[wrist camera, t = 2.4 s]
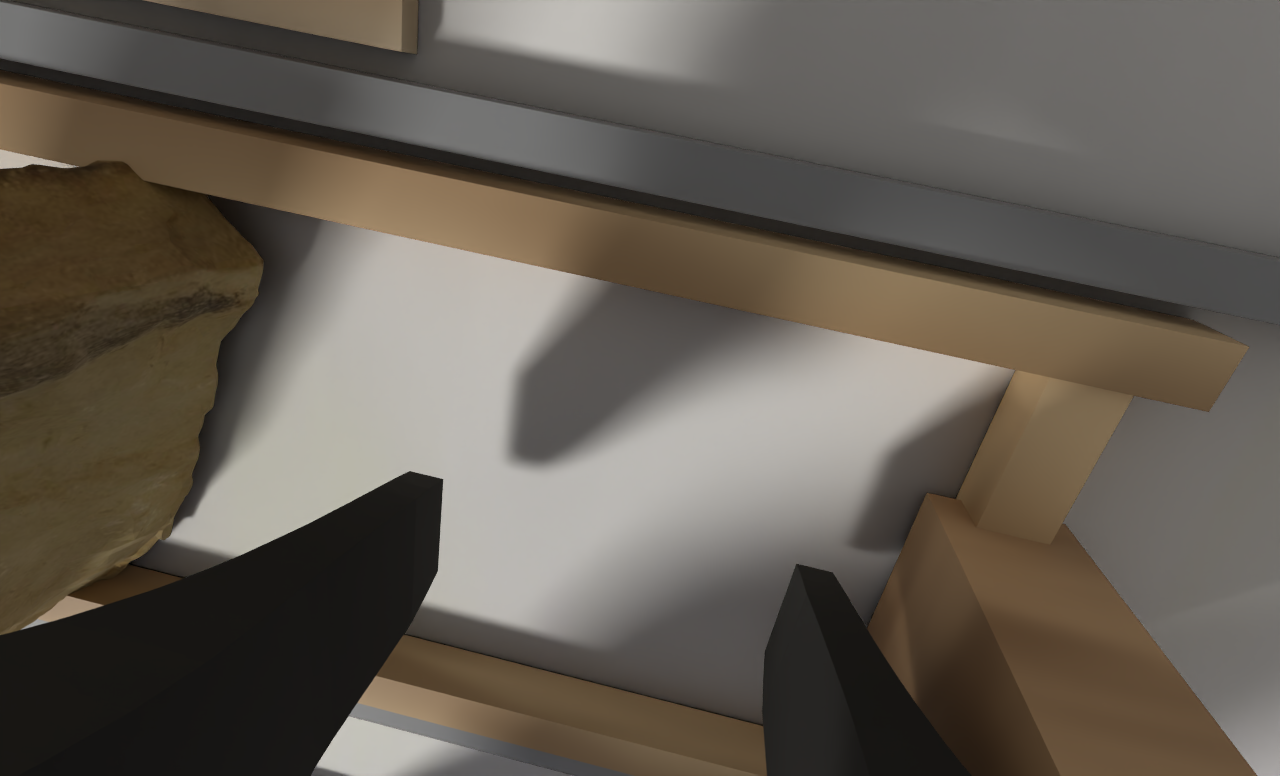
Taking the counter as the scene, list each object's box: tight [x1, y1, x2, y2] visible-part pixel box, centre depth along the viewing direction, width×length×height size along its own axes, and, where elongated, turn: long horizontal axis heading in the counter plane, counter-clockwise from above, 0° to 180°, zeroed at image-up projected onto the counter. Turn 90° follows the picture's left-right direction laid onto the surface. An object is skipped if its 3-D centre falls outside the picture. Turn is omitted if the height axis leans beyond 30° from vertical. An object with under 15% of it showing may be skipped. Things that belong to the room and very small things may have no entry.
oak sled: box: [0, 70, 1257, 776], centre depth 10 cm, size 12×25×6 cm, turn 80°
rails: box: [0, 0, 1280, 776], centre depth 11 cm, size 20×37×1 cm, turn 80°
